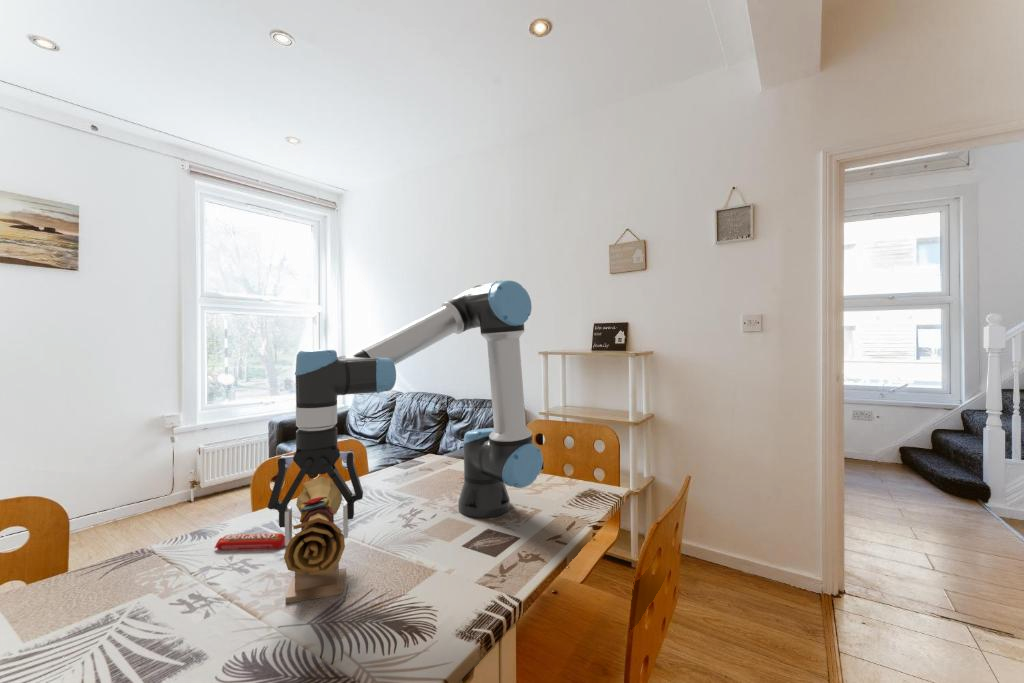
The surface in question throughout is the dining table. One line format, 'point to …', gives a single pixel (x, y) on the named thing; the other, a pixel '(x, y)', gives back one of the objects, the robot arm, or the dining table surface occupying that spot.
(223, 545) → the candy bar
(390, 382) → the robot arm
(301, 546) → the scroll
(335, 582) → the ridge block
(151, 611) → the dining table surface
